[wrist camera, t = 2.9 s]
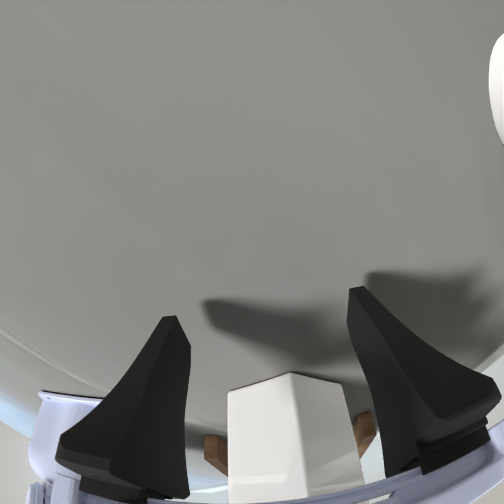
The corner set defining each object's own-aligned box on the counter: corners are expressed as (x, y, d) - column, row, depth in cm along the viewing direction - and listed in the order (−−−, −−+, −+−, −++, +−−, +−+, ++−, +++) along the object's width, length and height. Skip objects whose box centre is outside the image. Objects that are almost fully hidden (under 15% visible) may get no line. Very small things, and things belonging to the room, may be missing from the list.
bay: (237, 468, 31) (237, 484, 29) (204, 435, 23) (204, 458, 21) (350, 452, 30) (354, 467, 28) (370, 411, 22) (376, 434, 20)
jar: (324, 419, 22) (344, 540, 12) (230, 426, 21) (233, 553, 11) (352, 364, 17) (396, 537, 7) (223, 372, 16) (225, 566, 6)
